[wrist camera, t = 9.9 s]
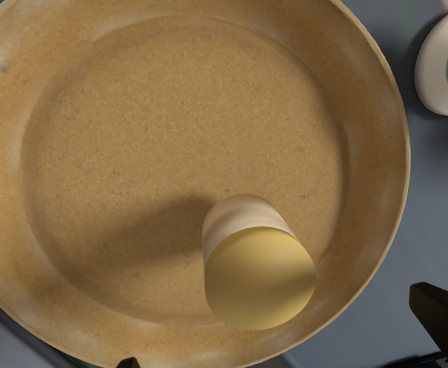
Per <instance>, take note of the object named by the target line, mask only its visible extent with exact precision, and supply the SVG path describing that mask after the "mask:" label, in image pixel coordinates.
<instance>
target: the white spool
mask: <svg viewBox="0 0 448 368" xmlns="http://www.w3.org/2000/svg"><path fill="white" fill-rule="evenodd" d="M414 83H415V89H416V92H417V95H418V97H419V99H420V101H421V102H422V104H423V105H424V106H425V107H426V108H427V109H429V110H430V111H432V112H434V113H437V114H440V115H448V14H447V15H446V16H445V17H444V18H442V19H441V20H440V21H439V22H438V23H437V24H436V25H435V26H434V27H433V29H432V30H431V31H430V32H429V34H428V35H427V37H426V38H425V40H424V42H423V44H422V46H421V48H420V50H419V53H418V56H417V59H416V64H415V70H414Z"/></svg>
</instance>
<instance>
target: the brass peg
mask: <svg viewBox="0 0 448 368" xmlns="http://www.w3.org/2000/svg"><path fill="white" fill-rule="evenodd" d="M202 243H203V262H204V281H205V296H206V301H207V303H208V306H209V308H210V309H211V311H212V312H213V314H214V315H215V316H216V317H217V318H218V319H219V320H221V321H222V322H224V323H225V324H227V325H229V326H232V327H235V328H238V329H243V330H264V329H268V328H272V327H275V326H278V325H280V324H283V323H285V322H287V321H288V320H290V319H291V318H293V317H294V316H296V315H297V314H298V313H299V312H300V311H301V310H302V309H303V308H304V307H305V306H306V304H307V303H308V302H309V300H310V298H311V296H312V294H313V292H314V289H315V285H316V270H315V266H314V263H313V261H312V259H311V257H310V256H309V254H308V253H307V252H306V250H305V249H304V247H303V246H302V245H301V243H300V242H299V241H298V239H297V238H296V236H295V235H294V234H293V232H292V231H291V230H290V228H289V227H288V225H287V224H286V223H285V221H284V220H283V218H282V217H281V216H280V214H279V213H278V212H277V210H276V209H275V208H274V206H273V205H272V204H271V203H270V202H269V201H267V200H266V199H264V198H262V197H260V196H257V195H253V194H237V195H232V196H229V197H227V198H225V199H223V200H221V201H219V202H218V203H217V204H215V205H214V206H213V207H212V208H211V210H210V211H209V212H208V214H207V215H206V217H205V220H204V222H203V226H202Z"/></svg>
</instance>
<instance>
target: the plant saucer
mask: <svg viewBox="0 0 448 368" xmlns="http://www.w3.org/2000/svg"><path fill="white" fill-rule="evenodd" d="M410 164H411V158H410V140H409V128H408V123H407V118H406V113H405V109H404V105H403V101H402V97H401V95H400V92H399V89H398V86H397V84H396V81H395V78H394V76H393V73H392V71H391V69H390V67H389V64H388V63H387V61H386V59H385V57H384V55H383V54H382V52H381V50H380V48H379V47H378V45H377V43H376V42H375V41H374V39H373V38H372V37H371V35H370V34H369V32H368V31H367V30H366V28H365V27H364V26H363V25H362V23H361V22H360V21H359V20H358V19H357V18H356V16H355V15H354V14H353V13H352V12H351V11H350V10H349V9H348V8H347V7H346V6H345V5H344V4H343V3H342V2H341V1H340V0H4V1H3V2H2V3H1V4H0V307H1V308H2V309H3V310H4V311H5V312H6V313H7V314H8V315H9V316H10V317H11V318H13V319H14V320H15V321H16V322H17V323H19V324H20V325H21V326H23V327H24V328H25V329H27V330H28V331H29V332H31V333H32V334H33V335H35V336H36V337H38V338H40V339H41V340H43V341H44V342H46V343H48V344H50V345H51V346H53V347H55V348H57V349H59V350H61V351H63V352H65V353H67V354H69V355H71V356H73V357H76V358H78V359H81V360H83V361H86V362H89V363H91V364H94V365H98V366H101V367H105V368H116V366H117V365H118V364H119V362H120V361H121V360H123V359H125V358H129V357H135V358H136V359H137V361H138V363H139V365H140V367H141V368H244V367H247V366H251V365H254V364H257V363H260V362H262V361H265V360H267V359H270V358H273V357H275V356H277V355H279V354H281V353H283V352H285V351H287V350H289V349H291V348H293V347H295V346H297V345H299V344H300V343H302V342H304V341H305V340H307V339H309V338H310V337H312V336H313V335H315V334H316V333H317V332H319V331H320V330H322V329H323V328H324V327H326V326H327V325H328V324H329V323H331V322H332V321H333V320H334V319H335V318H336V317H338V316H339V315H340V314H341V313H342V312H343V311H344V310H345V309H346V308H347V307H348V306H349V305H350V304H351V303H352V302H353V301H354V300H355V299H356V297H357V296H358V295H359V294H360V293H361V292H362V291H363V289H364V288H365V287H366V285H367V284H368V283H369V281H370V280H371V279H372V277H373V276H374V274H375V273H376V271H377V269H378V268H379V266H380V264H381V263H382V261H383V259H384V258H385V256H386V254H387V252H388V250H389V248H390V246H391V244H392V241H393V239H394V236H395V234H396V231H397V229H398V226H399V224H400V220H401V217H402V213H403V209H404V206H405V202H406V199H407V192H408V185H409V178H410ZM237 194H253V195H257V196H260V197H262V198H264V199H266V200H267V201H269V202H270V203H271V204H272V205H273V206H274V208H275V209H276V210H277V212H278V213H279V214H280V216H281V217H282V218H283V220H284V221H285V223H286V224H287V225H288V227H289V228H290V230H291V231H292V232H293V234H294V235H295V236H296V238H297V239H298V241H299V242H300V243H301V245H302V246H303V247H304V249H305V250H306V252H307V253H308V254H309V256H310V257H311V259H312V261H313V263H314V266H315V270H316V285H315V289H314V292H313V294H312V296H311V298H310V300H309V302H308V303H307V304H306V306H305V307H304V308H303V309H302V310H301V311H300V312H299V313H298V314H297V315H296V316H294V317H293V318H291V319H290V320H288V321H287V322H285V323H283V324H280V325H278V326H275V327H272V328H268V329H264V330H243V329H238V328H235V327H232V326H229V325H227V324H225V323H224V322H222V321H221V320H219V319H218V318H217V317H216V316H215V315H214V314H213V312H212V311H211V309H210V308H209V306H208V303H207V301H206V296H205V281H204V262H203V243H202V226H203V222H204V220H205V217H206V215H207V214H208V212H209V211H210V210H211V208H212V207H213V206H214V205H215V204H217V203H218V202H219V201H221V200H223V199H225V198H227V197H229V196H232V195H237Z"/></svg>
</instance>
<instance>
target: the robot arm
mask: <svg viewBox="0 0 448 368" xmlns="http://www.w3.org/2000/svg"><path fill="white" fill-rule="evenodd" d="M409 305H410V308H411V310H412V312H413V313H414V315H415V316H416V317H417V319H418V320H419V321H420V323H421V324H422V325H423V327H424V328H425V330H426V331H427V332H428V334H429V335H430V336H431V338H432V339H433V340H434V342H435V343H436V344H437V346H438V347H439V349H440V350H441V351H442V353H441V354H437V355H434V356H430V357H426V358H422V359H419V360H415V361H411V362H407V363H404V364H400V365H396V366H392V367H389V368H448V291H446V290H444V289H441V288H439V287H436V286H434V285H432V284H429V283H426V282H419V283H415V284H412V285H411V286H410V294H409ZM116 368H141V367H140V365H139V363H138V361H137V359H136V358H135V357H129V358H125V359H123V360H121V361H120V362H119V364H118V365H117V366H116Z"/></svg>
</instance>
